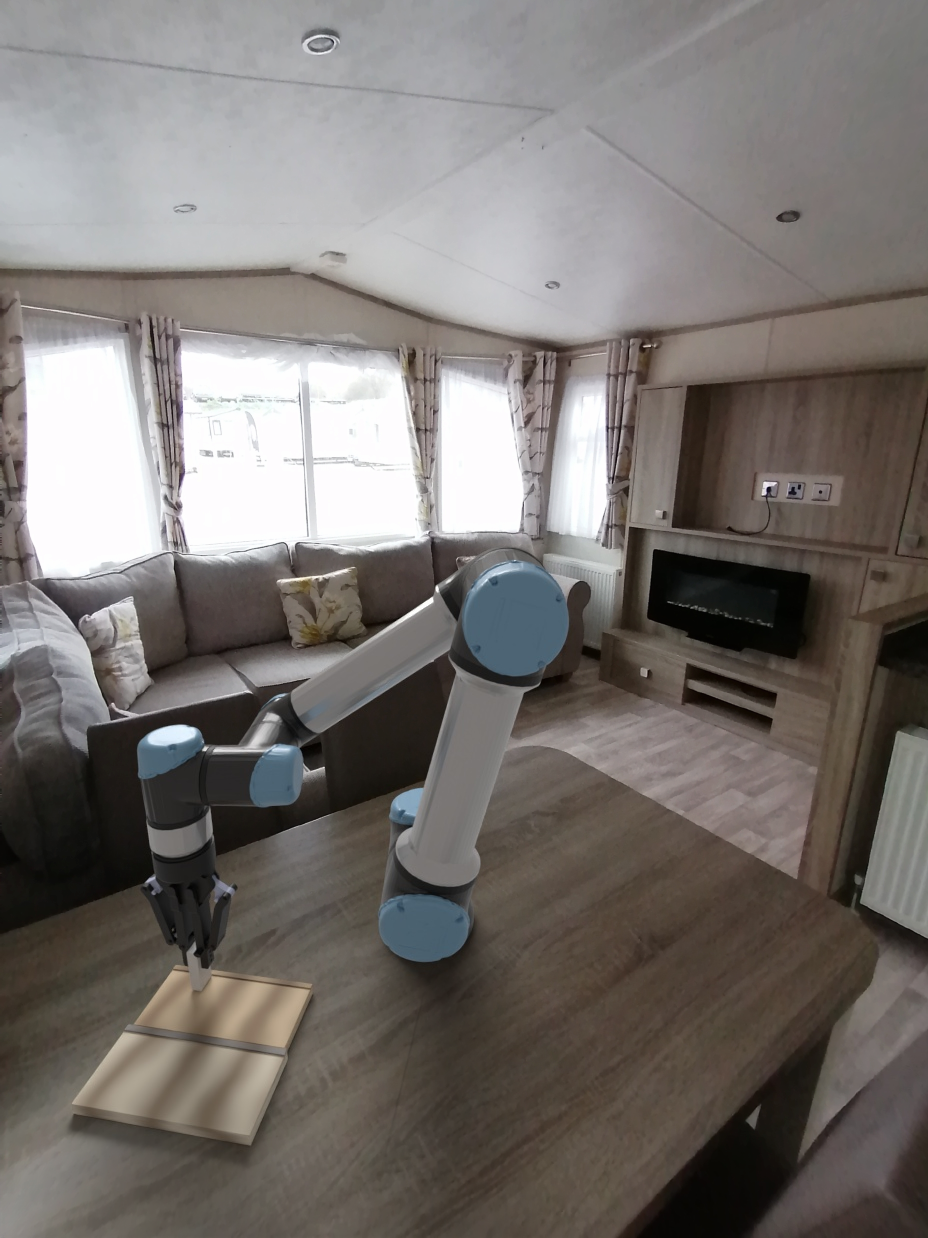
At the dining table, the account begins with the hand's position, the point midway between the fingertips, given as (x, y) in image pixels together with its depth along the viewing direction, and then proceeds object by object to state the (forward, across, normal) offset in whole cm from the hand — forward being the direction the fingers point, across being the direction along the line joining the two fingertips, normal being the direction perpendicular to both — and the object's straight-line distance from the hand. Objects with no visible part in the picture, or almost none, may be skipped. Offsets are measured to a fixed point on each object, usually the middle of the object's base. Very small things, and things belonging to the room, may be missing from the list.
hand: (201, 982), depth 87 cm
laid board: (+2, -5, +12) cm, 14 cm away
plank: (+2, -5, +2) cm, 6 cm away
